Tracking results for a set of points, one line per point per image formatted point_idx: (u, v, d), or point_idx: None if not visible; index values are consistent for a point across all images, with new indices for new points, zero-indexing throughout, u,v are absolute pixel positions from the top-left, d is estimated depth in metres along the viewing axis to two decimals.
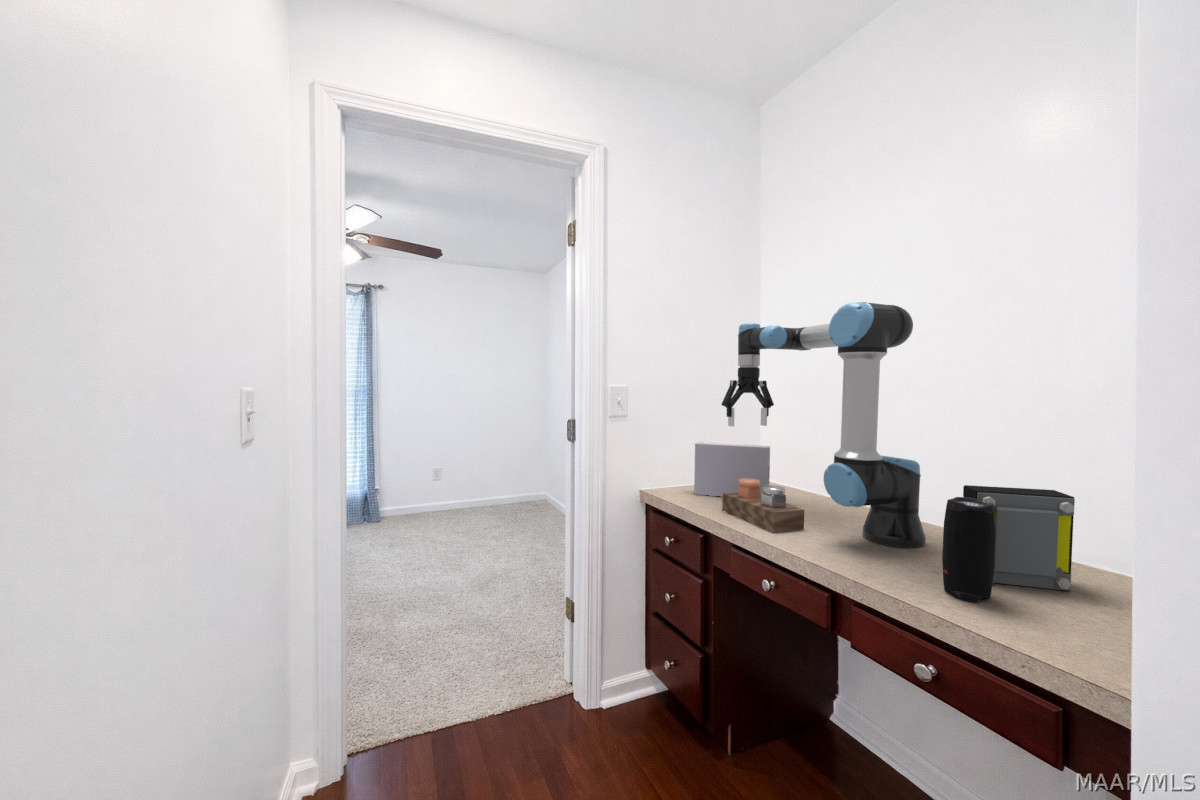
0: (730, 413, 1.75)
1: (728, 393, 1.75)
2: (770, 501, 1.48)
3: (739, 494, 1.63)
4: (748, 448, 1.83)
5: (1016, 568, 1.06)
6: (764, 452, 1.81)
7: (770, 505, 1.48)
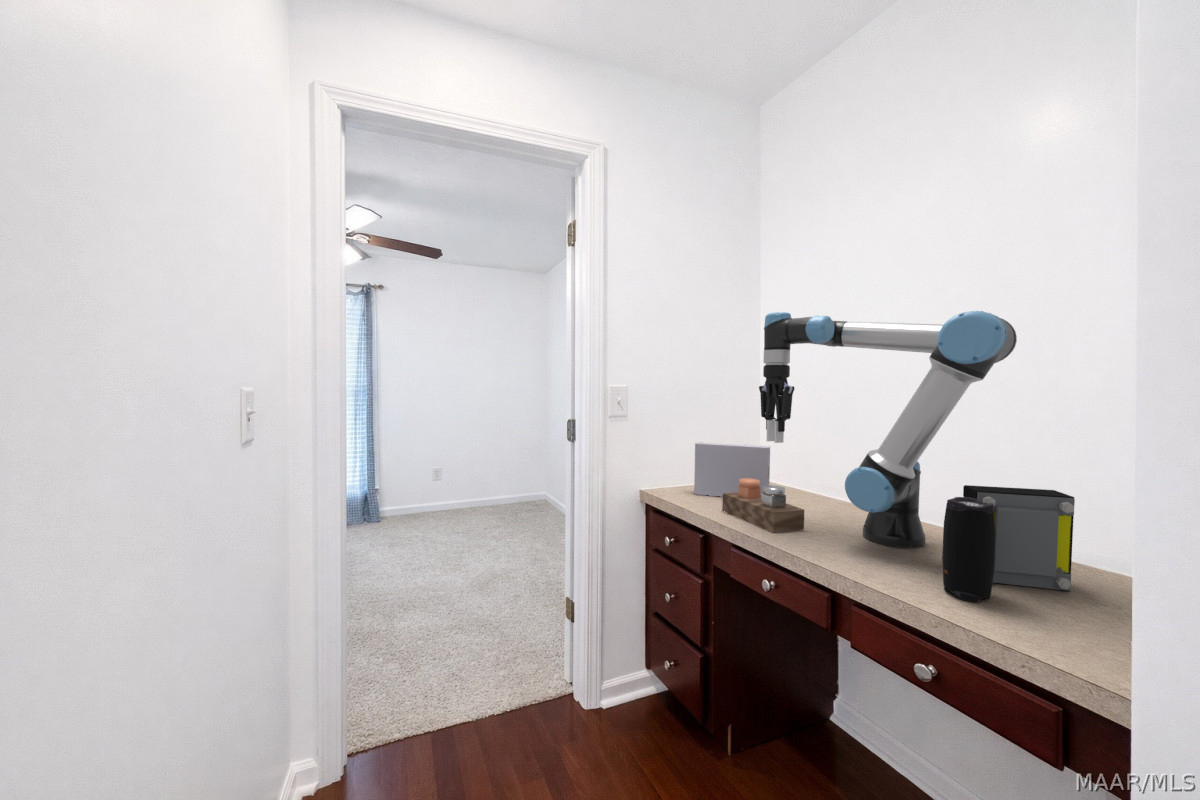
0: None
1: None
2: (770, 501, 1.48)
3: (739, 494, 1.63)
4: (748, 448, 1.83)
5: (1016, 568, 1.06)
6: (764, 452, 1.81)
7: (770, 505, 1.48)
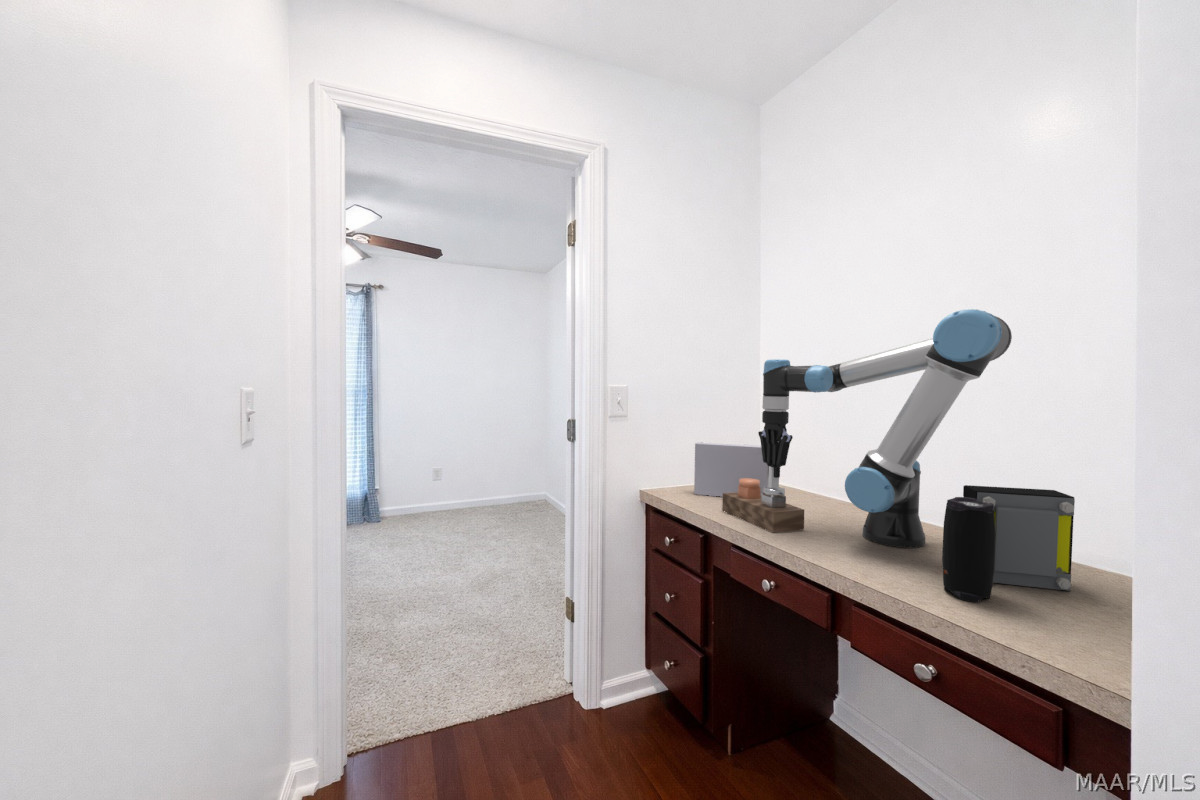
0: (769, 472, 1.51)
1: None
2: (770, 502, 1.48)
3: (739, 494, 1.63)
4: (748, 448, 1.83)
5: (1016, 568, 1.06)
6: None
7: (770, 506, 1.48)
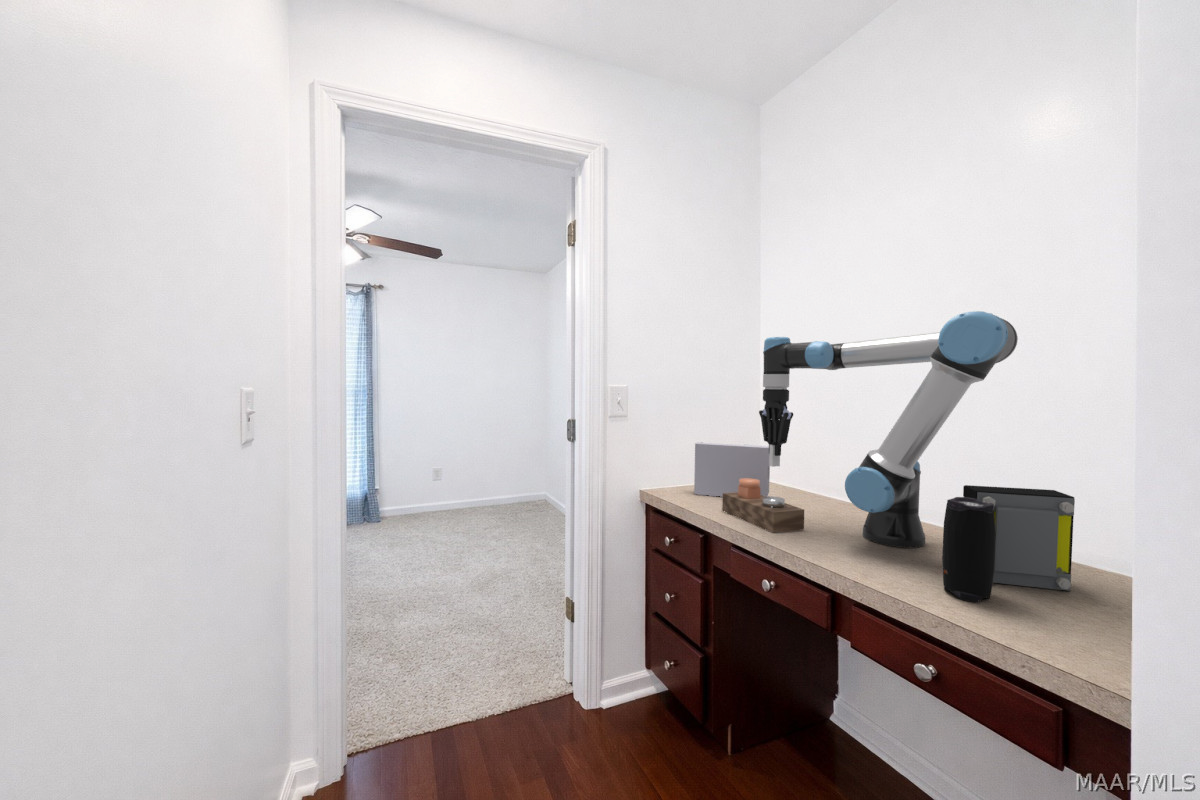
0: (770, 450, 1.51)
1: None
2: None
3: (739, 494, 1.63)
4: (748, 448, 1.83)
5: (1016, 568, 1.06)
6: (764, 452, 1.81)
7: None
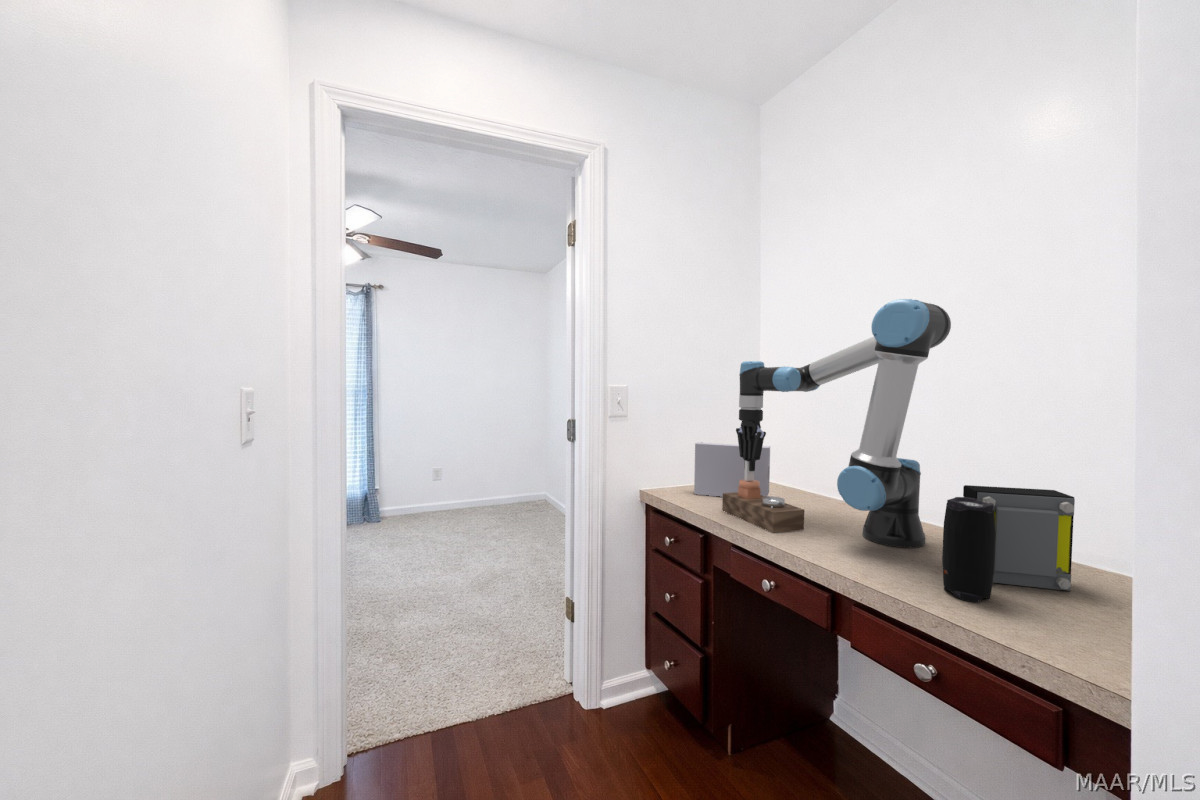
0: None
1: None
2: None
3: (739, 495, 1.63)
4: None
5: (1016, 568, 1.06)
6: (764, 452, 1.81)
7: None
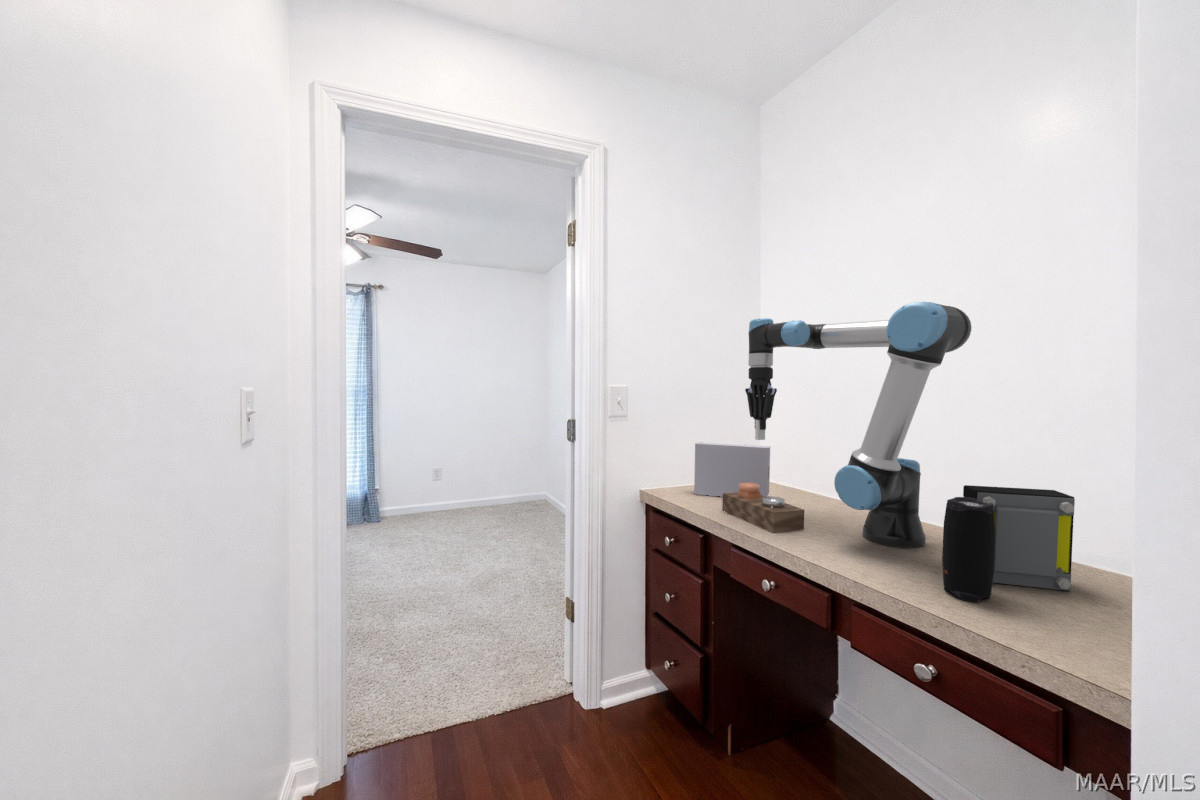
0: None
1: None
2: None
3: None
4: (748, 448, 1.83)
5: (1016, 568, 1.06)
6: (764, 452, 1.81)
7: None
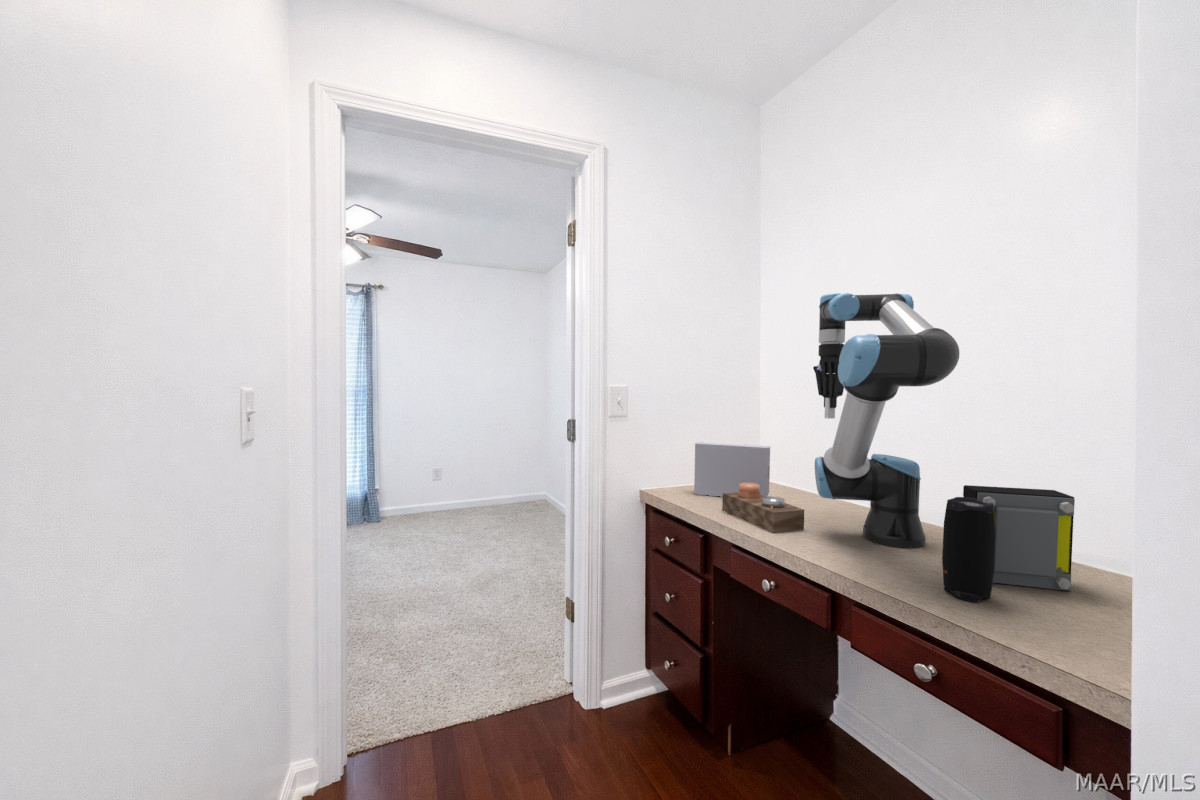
0: None
1: None
2: None
3: None
4: (748, 448, 1.83)
5: (1016, 568, 1.06)
6: (764, 452, 1.81)
7: None
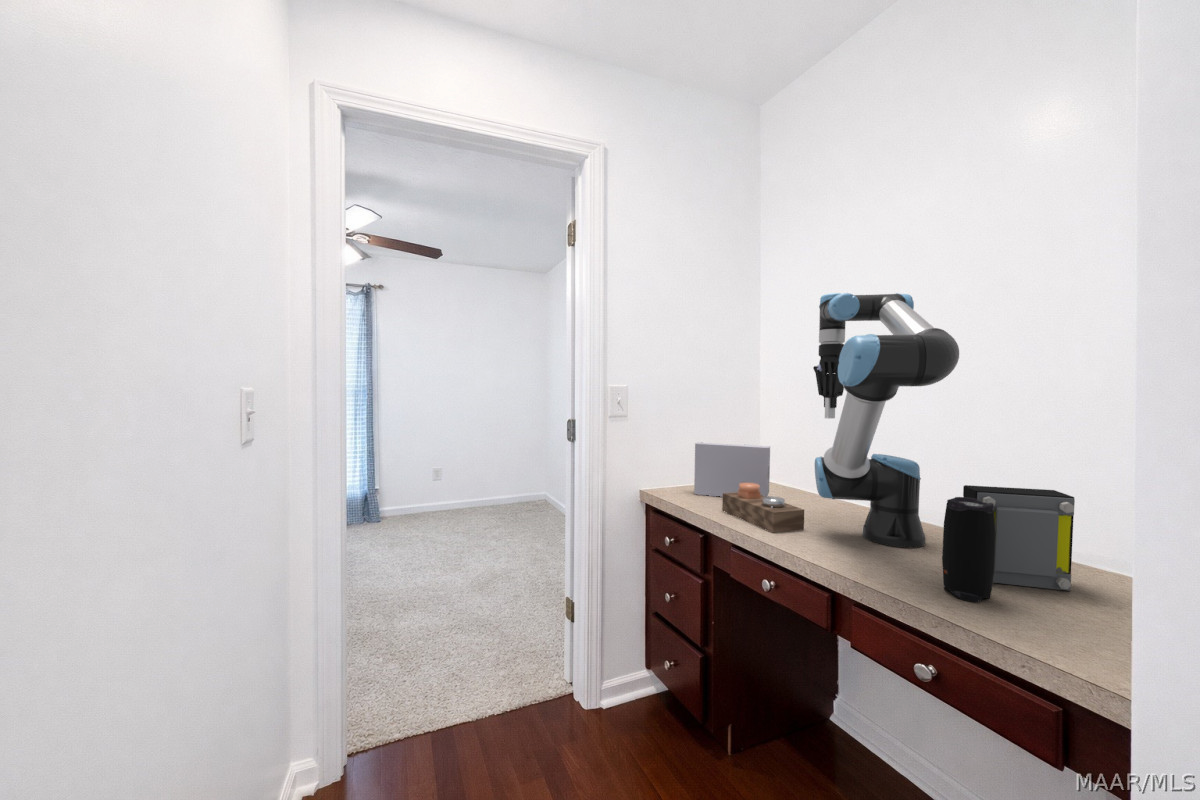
0: None
1: None
2: None
3: None
4: (748, 448, 1.83)
5: (1016, 568, 1.06)
6: (764, 452, 1.81)
7: None
